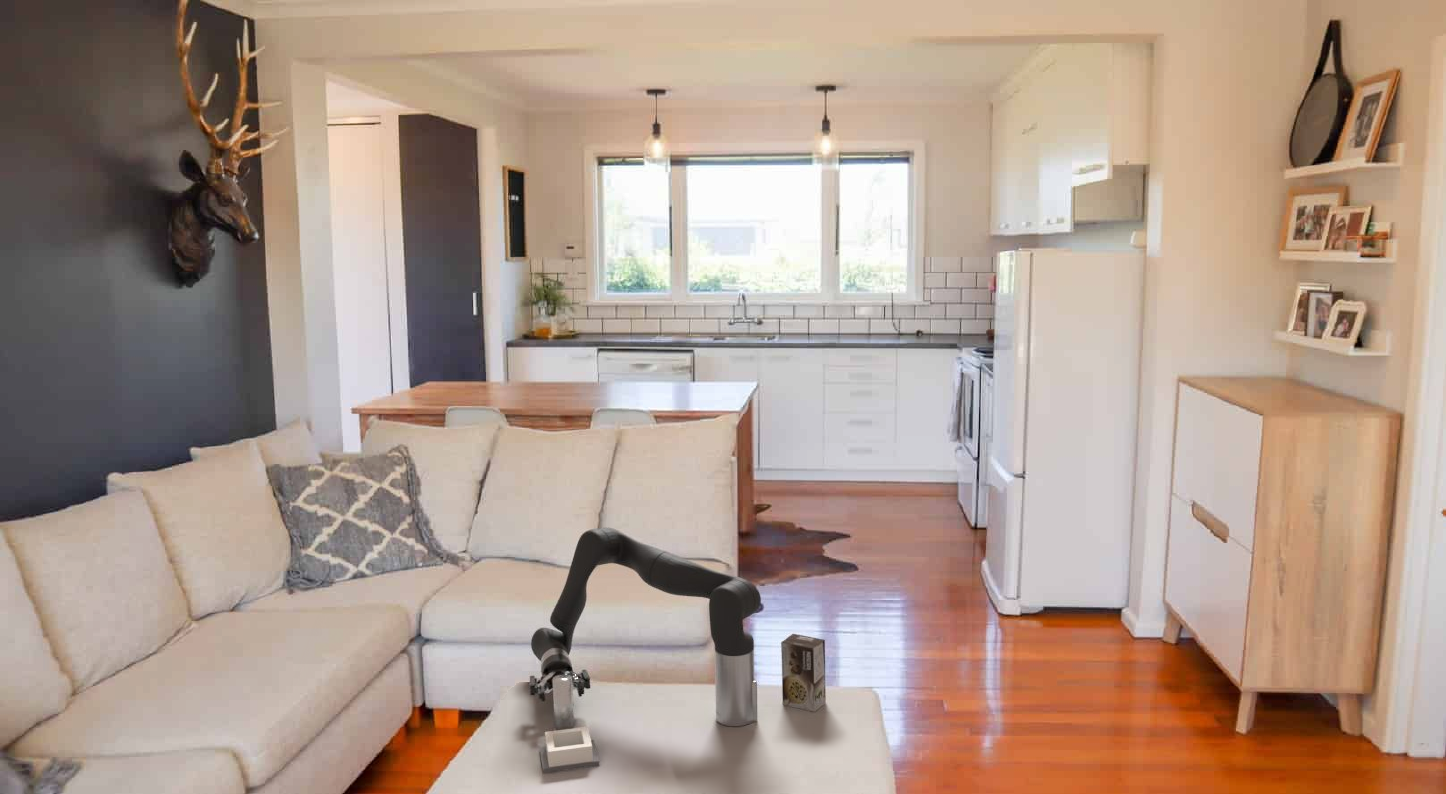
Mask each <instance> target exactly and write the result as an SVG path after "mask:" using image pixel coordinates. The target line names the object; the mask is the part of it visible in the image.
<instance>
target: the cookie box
mask: <svg viewBox="0 0 1446 794" xmlns="http://www.w3.org/2000/svg"><path fill="white" fill-rule="evenodd" d="M780 644H781V645H780V647H781V650H780V651H781V680H782V682H781V683H782V691H781V692H782V694H781V695H782V705H783V706H788V707H791V708H792V707H793V708H797V709H801V710H806V711H810V712H812V713H813V712H817V711H818V710H819V709H820V708H821V707H823V706H824V705H825V704H826V702H827V701H826V695H827V694H826V639H822V638H819V637H812V636H807V635H802V634H796V633H792V634H790V635H789V636H788V637H787V638H786V639H784V640H783V641H781V642H780Z"/></svg>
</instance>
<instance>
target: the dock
mask: <svg viewBox="0 0 1446 794" xmlns="http://www.w3.org/2000/svg"><path fill="white" fill-rule="evenodd" d="M544 734H545V735H544V738H545V741H544V742H545V745H544V746H540V747H539V752H540V753H539V754H540V761H541V767H542V773H543V774H547V773H552V772H553V773H554V772H560V771H561V772H562V771H568V770H576V769H584V768H592V767H597V766H600V759H599V756H598V752H597V748H596V743H595V740H594V739H591V735H590V732H589V728H588V726H582V727H574V728H573V729H565V730H557V731H555V730H552V731H551V730H550V731H545V732H544Z"/></svg>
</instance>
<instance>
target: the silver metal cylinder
mask: <svg viewBox="0 0 1446 794" xmlns="http://www.w3.org/2000/svg"><path fill="white" fill-rule="evenodd" d="M573 691H574V690H573V689H572V677H571V676H570V675H558V676H555V677H554V678H553V690H552V695H553V698H552V700H553V718H554V719H553V720H554V721H553V722H554V731H557V730H565V729H573V728H575V718H574V717H575V716H574V714H575V713H574V696H573V695H574V694H573Z"/></svg>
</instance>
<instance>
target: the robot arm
mask: <svg viewBox="0 0 1446 794" xmlns="http://www.w3.org/2000/svg"><path fill="white" fill-rule="evenodd" d="M608 564H617V565H620V566H623V567H625V568H628V569H631V570H633V571H634V572H636V573H637V574H638V576H639V578H640V579H641V580H642V581H643V582H644V583H646V584H647V585H648V586H650V587H652V588H654V589H656V590H659V591H662V592H664V593H666V594H670V595H674V596H680V597H682V596H683V597H692V598H693V597H695V598H704V599H708V600H709V601H708V613H709V614H708V615H709V625H710V629H709V630H710V636H711V639H712V641H713V645H714V671H715V672H714V673H715V674H714V675H715V679H714V681H715V682H714V683H715V685H714V686H715V717H716V721H717V722H718V723H719V724H721V725H724V726H727V727H742V726H747V725H749V724H752V723H753V722H758V720H759V719H758V683H757V680H756V679H755V643H754V642H755V641H754V637H753V635H751V634H750V633H748V632H747V631H744V620H745V619H747V618H749V617H750V616H751V615H753V614H754V613H757V611H758V610H759V608H760V606H761V602H762V597H761V594H760V592H759V590H758V588H757V587H756V586H755V584H753V583H752V582H751V581H750V580H748V579H746V578H742V577H738V576H735V575H731V574H728V573H725V572H724V573H723V572H720V571H718V570H717V571H716V570H713V569H710V568H708V567H706V566H703V565H701V564H698V563H696V562H693V561H691V560H688V559H685V558H683V557H681V556H678V555H676V554H674V553H671V552H668V551H665V550H664V549H663V550H662V549H660V548H657V547H654V546H652V545H648V544H645V543H644V542H643V543H642V542H640V541H638V540H637V539H634V538H632V537H631V536H628V535H627V534H625V533H623V532H621V531H620V530H617V529H615V528H612V527H600V528H593V529H589V530H586V531H584V532H583V533H582V534H581V535H580V537H579V538H578V541H577V544H576V547H575V550H574V553H573V557H572V561H571V564H570V566H569V571H568V574H567V577H566V581H565V584H564V587H563V589H562V592H561V593H560V596H559V598H558V600H557V602H556V603H555V606H554V608H553V609H552V612H551V615H550V618H549V621H550V625H551V626H552V627H554V628H555V629H557V630H554V629H551V628H548V627H541V628H538V629H537V630H536V631H535V632H534V633H533V635H532V636H531V641H530V642H531V643H530V646H531V647H530V648H531V651H532V652H533V654H534V656H535V657H536V658H537V659H538V660H539V661H540V672H541V677H536V676H535V675H530V676H529V696H535V695H537V697H538V699H539V700H541V702H545V701H546V698H545V697H546V696H545V695H546V694H549V693H550V692H553V678H554V677H555V676H558V675H570V676H571V677H572V689H573V691H575V690H576V691H577V694H578V698H579V697H580V698H581V697H582V696H583V695H584V694H585V689H586V690H587V689H588V690H589V689H591V677H590V675H589V673H588V670H587V669H582V670H581V672H580V673H576V672H575V671H574V670H573V666H572V665H573V664H572V660H571V659H570V656H569V655H570V653H571V650H572V645H573V637H574V632H575V629H576V626H577V623H578V622H579V619H580V617H581V616H582V614H583V612H584V610H585V607H586V602H587V597H588V596H587V594H588V593H587V584H588V581H589V578H590V576H591V575H592V573H593V572H594V570H595V569H596V568H597V567H598V566H602V565H603V566H604V565H608Z"/></svg>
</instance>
